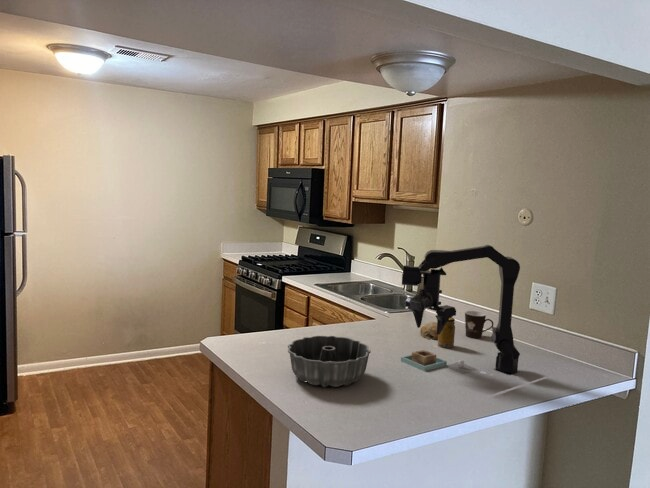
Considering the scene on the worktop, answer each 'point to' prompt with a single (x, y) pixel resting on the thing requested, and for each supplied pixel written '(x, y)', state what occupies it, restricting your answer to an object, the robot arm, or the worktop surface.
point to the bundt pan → (328, 360)
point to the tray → (408, 361)
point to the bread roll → (429, 331)
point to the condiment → (447, 335)
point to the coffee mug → (475, 324)
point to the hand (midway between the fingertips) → (428, 330)
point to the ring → (424, 357)
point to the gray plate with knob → (461, 367)
